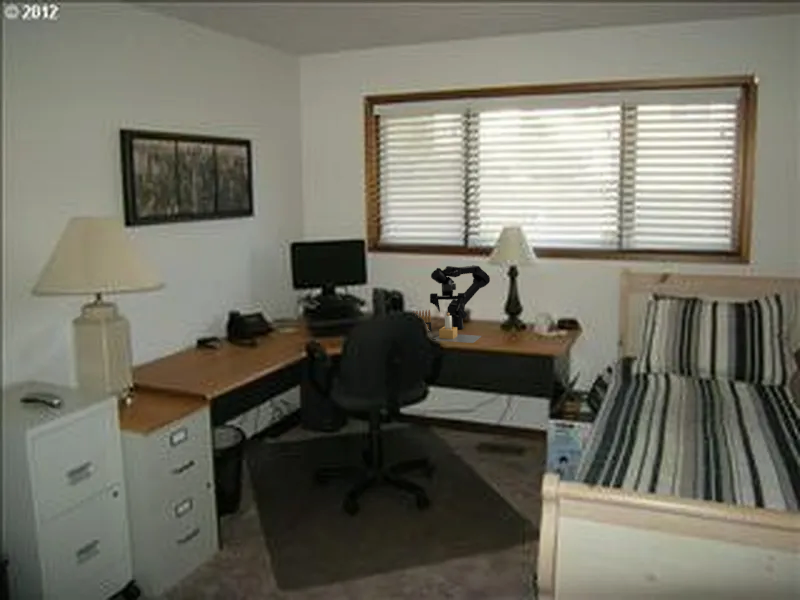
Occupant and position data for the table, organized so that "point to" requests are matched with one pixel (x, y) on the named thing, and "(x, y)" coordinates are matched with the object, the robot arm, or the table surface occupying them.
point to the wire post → (448, 322)
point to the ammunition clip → (426, 318)
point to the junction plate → (455, 336)
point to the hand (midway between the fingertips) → (448, 311)
